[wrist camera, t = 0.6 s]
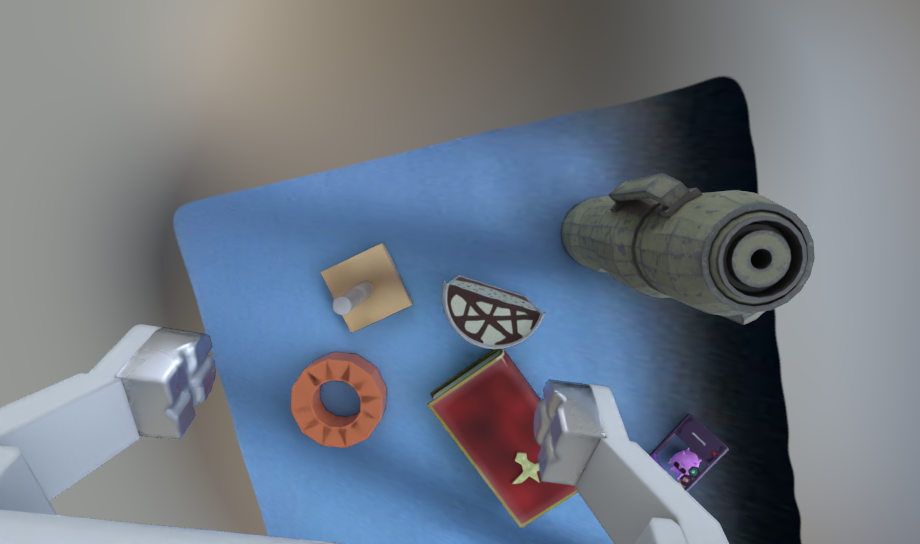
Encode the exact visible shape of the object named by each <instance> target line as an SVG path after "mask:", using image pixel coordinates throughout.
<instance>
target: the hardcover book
mask: <svg viewBox="0 0 920 544" xmlns="http://www.w3.org/2000/svg"><path fill="white" fill-rule="evenodd" d="M430 395H431V396H432V397H433V401H431V402H430V403H428V406H429V408H430V409H431V410H432V412H433V413H434V414H435V416H436V417H437V418H438V420H439V421H440V422H441V424H442V425H443V426H444V428H445V429H446V430H447V432H448V433H449V434H450V435H451V437H452V438H453V439H454V441H455V442H456V443H457V445H458V446H459V447H460V449H461V450H462V451H463V453H464V454H465V455H466V457H467V458H468V459H469V461H470V462H471V463H472V464H473V466H474V467H475V468H476V470H477V471H478V472H479V474H480V475H481V476H482V478H483V479H484V480H485V482H486V483H487V484H488V486H489V487H490V488H491V490H492V491H493V492H494V493H495V495H496V496H497V497H498V499H499V500H500V501H501V503H502V504H503V505H504V507H505V508H506V509H507V511H508V512H509V513H510V515H511V516H512V517H513V519H514V520H515V521H516V522H517V524H518V525H519V526H520V528H522V527H524V526H525V525H527V524H529V523H530V522H532V521H533V520H535V519H537V518H538V517H540V516H541V515H543V514H544V513H546V512H548V511H549V510H551V509H552V508H554V507H555V506H557V505H559V504H560V503H562V502H563V501H565V500H567V499H568V498H570V497H571V496H573V495H574V494H576V493H578V491H577V490H576V488H575V487H576V486H572V485H565V484H558V483H551V482H544V481H541V476H540V469H539V463H538V457H537V456H538V454H539V451H540V449H541V447H540V446H539V444H538V443H537V442H536V441H535V436H534V417H535V411H536V408H537V405H538V402H540V401H541V400H540V398H539V397H538V396H537V394H536V393H535V391H534V390H533V389H532V387H531V386H530V385H529V383H528V382H527V380H526V379H525V378H524V376H523V375H522V374H521V372H520V371H519V370H518V368H517V367H516V365H515V364H514V363H513V361H512V360H511V359H510V357H509V356H508V354H507V353H506V352H505V350H504V349H494V350H492V351H491V352H489V353H488V354H487V355H485V356H484V357H482V358H481V359H479V360H478V361H476V362H475V363H473V364H472V365H471V366H469V367H468V368H466V369H465V370H463V371H462V372H460V373H459V374H457V375H456V376H455V377H453V378H452V379H450V380H449V381H447V382H446V383H444V384H443V385H441V386H440V387H439V388H437V389H436V390H434V391H433V392H431V393H430Z"/></svg>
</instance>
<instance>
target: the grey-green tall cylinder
mask: <svg viewBox="0 0 920 544" xmlns="http://www.w3.org/2000/svg"><path fill="white" fill-rule="evenodd" d="M560 233H561V241H562V244H563V246H564V248H565V250H566V252H567V253H568V254H569V255H570V256H571V257H572V258H573V259H574V260H575V261H576V262H578V263H579V264H581V265H583V266H585V267H587V268H589V269H592V270H594V271H597V272H603V273H608V274H609V275H610V276H611V277H612V278H613V279H615V280H617V281H619V282H621V283H623V284H624V285H626V286H629V287H631V288H633V289H635V290H637V291H639V292H641V293H643V294H645V295H647V296H653V297H660V298H669V297H672V298H674V299H676V300H678V301H680V302H683V303H685V304H687V305H690V306H692V307H694V308H697V309H699V310H701V311H704V312H706V313H710V314H716V315H721V316H723V317H726V318H728V319H730V320H733V321H735V322H738V323H740V324H742V325H744V324H746V323H749V322H751V321H753V320H755V319H757V318H758V317H759V316H760V315H761V314H762V313H764V312H765V311H768V310H772V309H774V308H776V307H779V306H781V305H783V304H785V303H787V302H788V301H789V300H791V299H792V298H793V297H794V296H795V295H796V294H797V293H799V292H800V291H801V289H802V288H803V286H804V284H805V283H806V281H807V280H808V278H809V276H810V274H811V270H812V266H813V262H814V244H813V239H812V237H811V235H810V232H809V230H808V228H807V226H806V225H805V224H804V223H803V222H802V220H801V219H800V218H799V217H798V216H797V215H796V214H795V213H793V212H792V211H790V210H788V209H786V208H784V207H783V206H781V205H779V204H777V203H775V202H773V201H771V200H769V199H767V198H765V197H763V196H761V195H759V194H756V193H751V192H744V191H738V190H732V191H721V192H710V193H701V192H700V191H699V190H698V188H690V189H687V188H686V187H685V186H684V185H683V183H682V182H680V181H678V180H676V179H674V178H672V177H670V176H668V175H665V174H663V173H660V174H655V175H651V176H646V177H642V178H637V179H632V180H628V181H626V182H623V183H622V184H620V185H619V186H618V187H617V188H616V189H615V190H614V191H613V192H611V193H610V194H609V196H602V197H595V198H589V199H587V200H584V201H582V202H580V203H578V204H576V205H575V206H574V207H573V208H572V209H571V210H570V211H569V212H568V213H567V214H566V216H565V218H564V220H563V222H562V226H561V232H560Z"/></svg>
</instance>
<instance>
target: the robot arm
mask: <svg viewBox="0 0 920 544" xmlns="http://www.w3.org/2000/svg"><path fill="white" fill-rule="evenodd" d="M211 348H212V342H211V338H210V336H209V335H207V334H203V333H197V332H191V331H184V330H178V329H172V328H165V327H155V326H150V325H144V324H140V325H137V326H135V327H133V328H132V329H131V330H130V331H129V332H128V333H127V334H126V335H125V336H124V337H123V338H122V339H121V340H120V341H119V342H118V343H117V344H116V345H115V346H114V347H113V348H112V349H111V350H110V351H109V352H108V353H107V354H106V355H105V356H104V357H103V358H102V359H101V360H100V361H99V362H98V363H97V364H96V365H95V366H94V367H93V368H92V370H91V371H90V372H89V373H88V374H82V373H79V374H77V375H75V376H72V377H70V378H68V379H66V380H63V381H61V382H58V383H56V384H54V385H52V386H49V387H47V388H45V389H42V390H40V391H38V392H36V393H33V394H31V395H29V396H26V397H24V398H22V399H19V400H17V401H15V402H12V403H10V404H8V405H5V406H3V407H1V408H0V544H341V543H331V542H321V541H311V540H301V539H291V538H281V537H271V536H261V535H251V534H241V533H232V532H222V531H212V530H201V529H192V528H182V527H171V526H162V525H152V524H142V523H132V522H122V521H112V520H101V519H92V518H82V517H72V516H62V515H57V514H56V512H55V510H54V509H53V507H52V505H51V503H50V500H52V499H53V498H55V497H56V496H58V495H59V494H60V493H62V492H63V491H65V490H66V489H68V488H69V487H70V486H72V485H73V484H75V483H76V482H77V481H79V480H80V479H82V478H83V477H85V476H86V475H88V474H89V473H91V472H92V471H94V470H95V469H96V468H98V467H99V466H101V465H102V464H103V463H105V462H106V461H108V460H109V459H111V458H112V457H114V456H115V455H116V454H118V453H119V452H121V451H122V450H124V449H125V448H127V447H128V446H129V445H131V444H132V443H134V442H135V441H137V440H138V439H139V438H140V436H145V437H156V438H168V439H179V440H180V439H181V438H182V436H183V434H184V433H185V431H186V429H187V428H188V426H189V425H190V423H191V422H192V420H193V419H194V417H195V411H194V406H196V405H197V404H199V403H201V402H203V401H204V400H205V399H206V398H207V396H208V394H209V393H210V391H211V389H212V386H213V383H214V380H215V373H216V366H215V360H214V359H213V358H211V356H210V355H208V352H209V351H210V350H211ZM543 392H544V399H543V400H541V401H540V402H538V405H537V408H536V411H535V417H534V436H535V441H536V442H537V443H538V444H539V446H540V447H541V449H540V451H539V454H538V456H537V457H538V463H539V469H540V476H541V481H544V482H551V483H558V484H565V485H572V486H576V487H575V488H576V490H577V491H578V492H579V494H580V495H581V497H582V498H583V500H584V501H585V502H586V504H587V505H588V507H589V508H590V510H591V511H592V512H593V514H594V515H595V517H596V518H597V520H598V521H599V523H600V524H601V525H602V527H603V528H604V530H605V531H606V533H607V534H608V535H609V537H610V538H611V540H612V541H613V543H614V544H729V543H728V541H727V538H726V536H725V534H724V532H723V530H722V528H721V526H720V523H719V522H718V521H717V520H715V519H714V518H713V517H712V516H711V515H710V514H709V513H708V512H707V511H706V510H705V509H704V508H703V507H702V506H701V505H700V504H699V503H698V502H697V501H696V500H695V499H694V498H693V497H692V496H691V495H690V494H689V493H688V492H687V491H686V490H684V489H683V488H682V487H681V486H680V485H679V484H678V483H677V482H676V481H675V480H674V479H673V478H672V477H671V476H670V475H669V474H668V473H667V472H666V471H665V470H664V469H663V468H662V467H661V466H660V465H659V464H658V463H657V462H656V461H654V460H653V459H652V458H651V457H650V456H649V455H648V454H647V453H646V452H645V451H644V450H643V449H642V448H641V447H640V446H639V445H638V444H637V443H636V442H631V441H629V438H628V435H627V433H626V430H625V427H624V424H623V422H622V419H621V416H620V413H619V411H618V408H617V405H616V402H615V400H614V397H613V394H612V391H611V389H610V388H609V387H607V386H599V385H591V384H588V385H587V384H582V383H574V382H566V381H558V380H550V379H549V380H548V381H547V382H546V384H545V387H544V389H543Z"/></svg>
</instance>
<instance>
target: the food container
mask: <svg viewBox="0 0 920 544" xmlns="http://www.w3.org/2000/svg"><path fill="white" fill-rule="evenodd" d="M441 297H442V306H443V309H444V313H445V315H446V318H447V320H448V322H449V323H450V325H451V326H452V328H453V329H454V330H455V331H456V332H457V333H458V334H459V335H460V336H461V337H462V338H463V339H465V340H466V341H468V342H470V343H471V344H474V345H476V346H479V347H483V348H487V349H504V348H508V347H512V346H514V345H517V344H519V343H521V342H522V341H524V340H526V339H527V338H528V337H529V336H531V335H532V334H533V333H534V332H535V330H536V329H537V328H538V327H539V325H540V324H541V322H542V320H543V318H544V316H545V312H544V313H542V312H541V311H540V310H539V309H538V308H537V307H536V306H535V305H534V304H533V303H532V302H531V301H530V300H529V299H528V298H527V297H526V296H524V295H521V294H518V293H514V292H511V291H508V290H505V289H502V288H498V287H495V286H492V285H489V284H486V283H482V282H479V281H476V280H473V279H470V278H466V277H463V276H460V275H458V276H457V277H455V278H454V279H453V280H451V281H450V282H449V283H446V282H445V281H443V286H442V296H441Z"/></svg>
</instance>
